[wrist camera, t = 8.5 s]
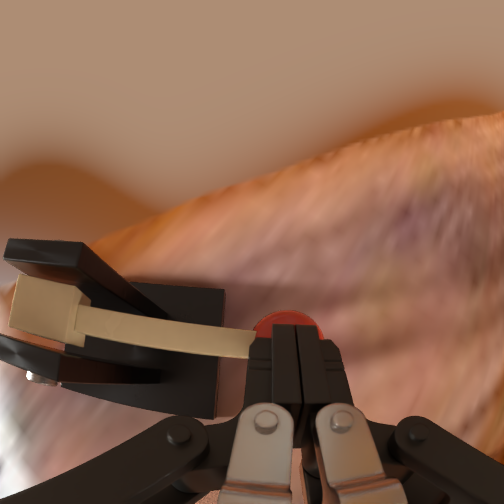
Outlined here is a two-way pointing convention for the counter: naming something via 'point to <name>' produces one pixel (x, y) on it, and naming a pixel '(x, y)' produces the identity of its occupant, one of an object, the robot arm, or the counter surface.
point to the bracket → (112, 352)
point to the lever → (128, 323)
